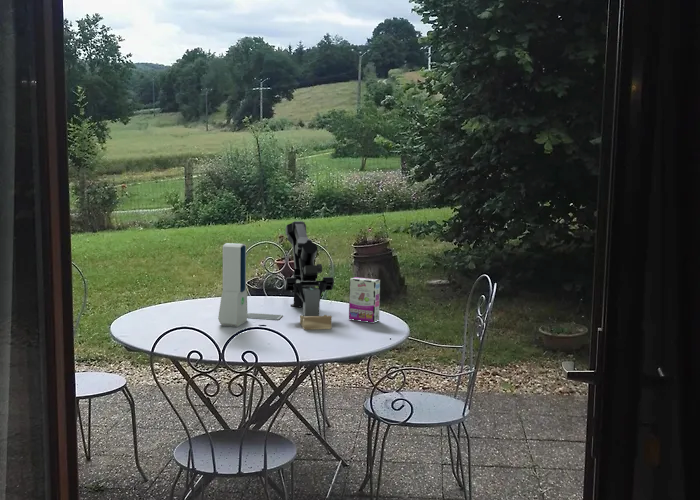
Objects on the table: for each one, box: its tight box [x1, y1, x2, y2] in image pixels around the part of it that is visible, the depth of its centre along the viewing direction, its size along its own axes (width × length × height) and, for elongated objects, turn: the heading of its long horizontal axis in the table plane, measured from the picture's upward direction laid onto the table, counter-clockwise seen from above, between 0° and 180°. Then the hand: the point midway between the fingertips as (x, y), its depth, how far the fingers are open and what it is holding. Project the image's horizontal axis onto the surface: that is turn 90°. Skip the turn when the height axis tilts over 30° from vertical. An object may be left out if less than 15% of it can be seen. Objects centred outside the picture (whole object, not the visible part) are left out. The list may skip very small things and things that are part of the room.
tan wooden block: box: [299, 314, 333, 331], centre depth 278 cm, size 10×10×5 cm
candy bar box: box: [348, 276, 381, 322], centre depth 288 cm, size 11×5×16 cm, turn 62°
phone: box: [247, 312, 284, 321], centre depth 291 cm, size 7×14×1 cm, turn 80°
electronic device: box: [217, 242, 249, 328], centre depth 278 cm, size 12×8×30 cm, turn 168°
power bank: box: [302, 287, 321, 316], centre depth 287 cm, size 5×6×12 cm
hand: (311, 302), depth 286 cm, fingers closed on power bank, 5 cm apart
